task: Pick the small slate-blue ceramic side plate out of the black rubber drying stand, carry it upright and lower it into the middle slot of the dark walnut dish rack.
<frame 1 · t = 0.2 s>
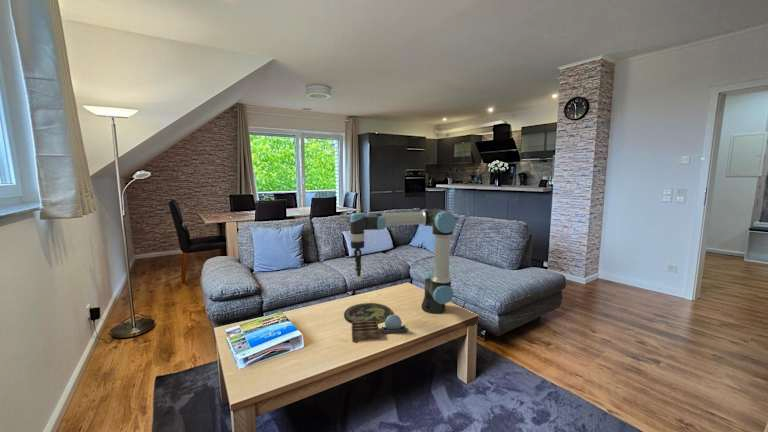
hand: (358, 277, 184), 28 cm above the table, fingers open, 13 cm apart
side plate: (394, 330, 177), point 1 cm above the table, tilted 7°, touching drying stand
decorative plate: (368, 315, 199), on the table
dish rack: (365, 335, 174), on the table
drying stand: (394, 332, 177), on the table
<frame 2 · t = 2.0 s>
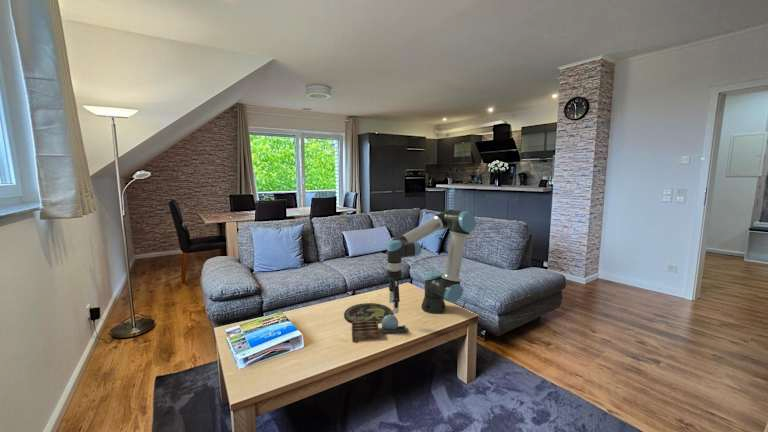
hand: (393, 307, 175), 14 cm above the table, fingers open, 13 cm apart
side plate: (394, 329, 177), point 1 cm above the table, tilted 30°, touching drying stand
everything else where it was.
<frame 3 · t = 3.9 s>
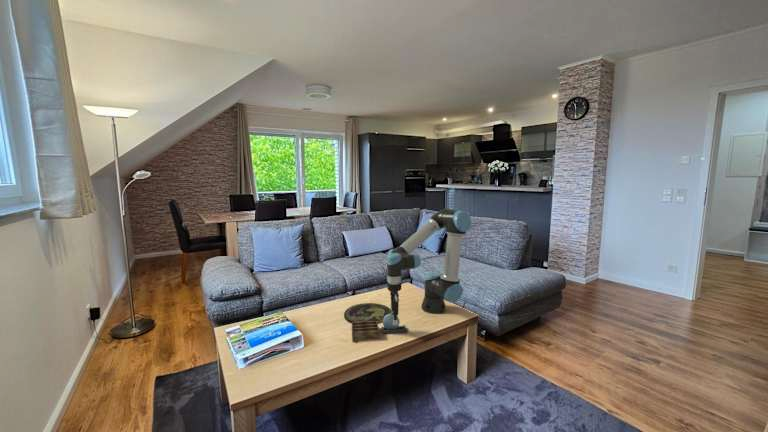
hand: (394, 323, 176), 5 cm above the table, fingers closed on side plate, 1 cm apart
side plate: (394, 328, 177), point 2 cm above the table, tilted 27°, touching gripper
everything else where it was.
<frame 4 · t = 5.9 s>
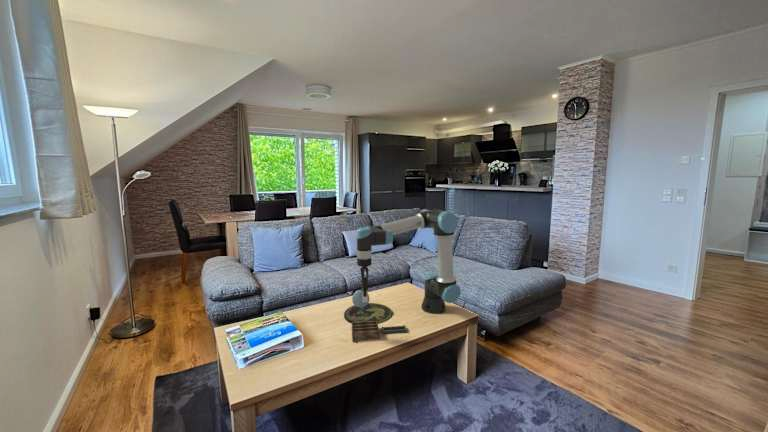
hand: (364, 301, 171), 19 cm above the table, fingers closed on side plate, 1 cm apart
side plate: (364, 305, 171), point 17 cm above the table, tilted 26°, touching gripper
everything else where it was.
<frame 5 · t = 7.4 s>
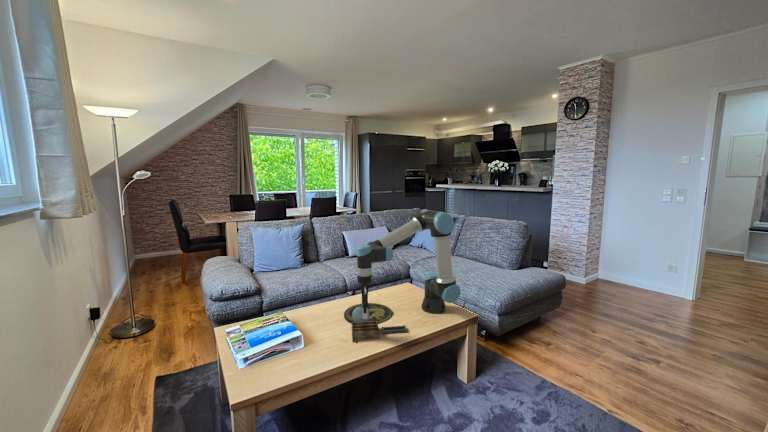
hand: (364, 317, 172), 10 cm above the table, fingers closed on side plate, 1 cm apart
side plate: (364, 322, 173), point 7 cm above the table, tilted 26°, touching gripper
everything else where it was.
when the fingers open (6 cm above the table, at t = 8.3 s): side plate drops 2 cm, resting on dish rack.
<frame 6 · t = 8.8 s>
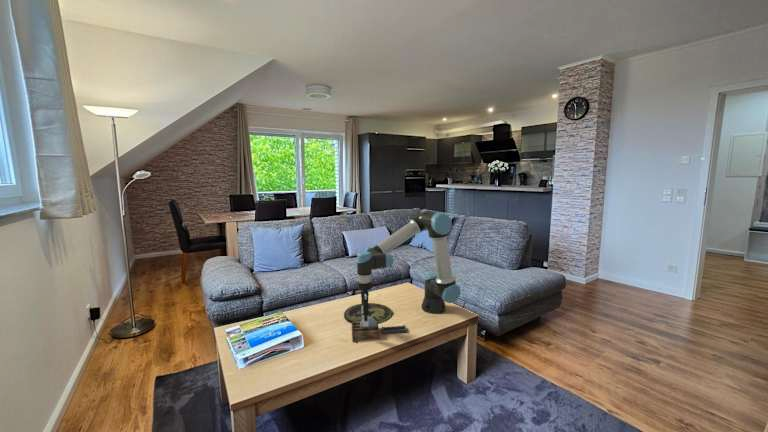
hand: (365, 321, 173), 8 cm above the table, fingers open, 10 cm apart
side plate: (365, 333, 173), point 1 cm above the table, tilted 21°, touching dish rack
everything else where it was.
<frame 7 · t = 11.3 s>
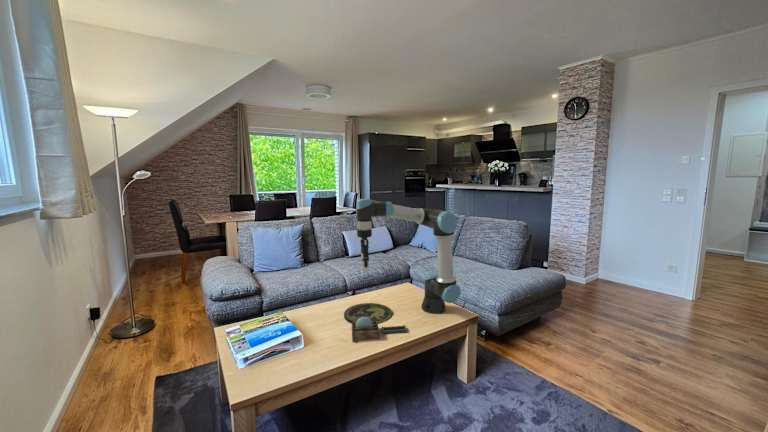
hand: (364, 269, 169), 37 cm above the table, fingers open, 13 cm apart
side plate: (365, 333, 173), point 1 cm above the table, tilted 7°, touching dish rack
everything else where it was.
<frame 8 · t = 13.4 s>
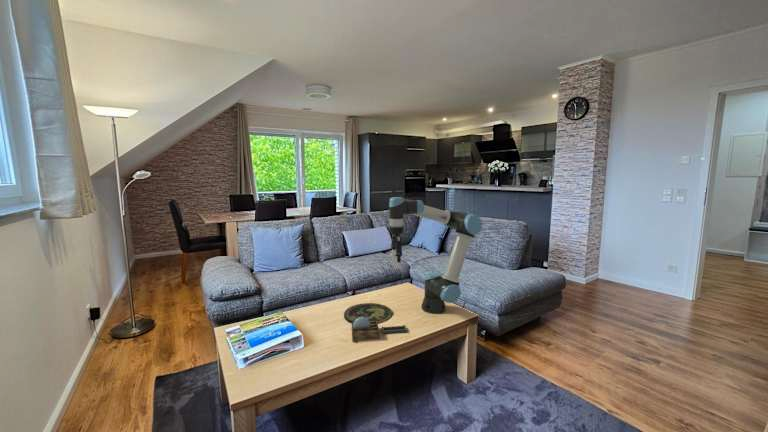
hand: (396, 264, 177), 37 cm above the table, fingers open, 13 cm apart
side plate: (365, 332, 173), point 1 cm above the table, tilted 25°, touching dish rack
everything else where it was.
at the end: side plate inside the target area on the dish rack (0.1 cm from its centre), point 1.4 cm above the dish rack's base; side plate tilted 24°; the gripper is holding nothing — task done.
